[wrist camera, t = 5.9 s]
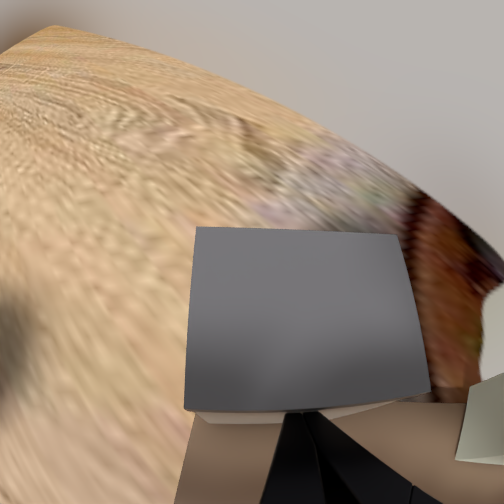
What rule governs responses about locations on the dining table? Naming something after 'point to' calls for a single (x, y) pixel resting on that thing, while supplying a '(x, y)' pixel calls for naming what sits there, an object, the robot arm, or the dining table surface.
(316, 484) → the robot arm
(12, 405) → the dining table surface
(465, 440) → the pale green cabinet
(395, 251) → the white toy cabinet
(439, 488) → the tan wooden board
